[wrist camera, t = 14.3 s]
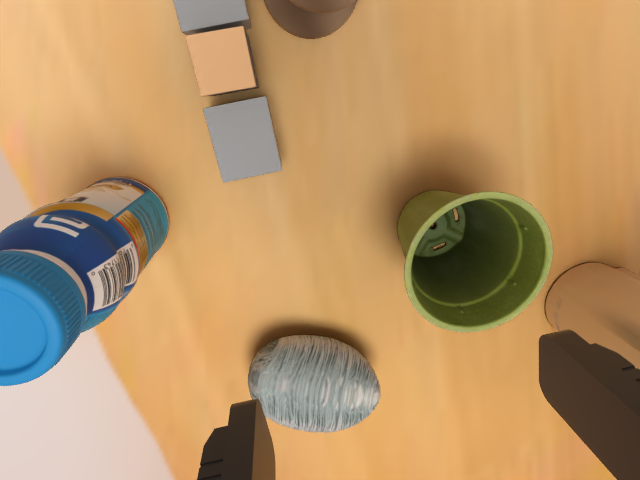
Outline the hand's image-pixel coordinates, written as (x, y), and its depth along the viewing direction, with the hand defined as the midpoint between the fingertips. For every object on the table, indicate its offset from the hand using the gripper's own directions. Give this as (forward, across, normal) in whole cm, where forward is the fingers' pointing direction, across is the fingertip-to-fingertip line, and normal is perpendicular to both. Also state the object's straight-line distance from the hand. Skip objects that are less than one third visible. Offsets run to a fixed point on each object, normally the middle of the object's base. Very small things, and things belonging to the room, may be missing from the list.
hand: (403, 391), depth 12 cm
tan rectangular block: (+30, +5, -11) cm, 32 cm away
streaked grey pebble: (+30, +4, +20) cm, 37 cm away
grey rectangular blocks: (+30, +5, -11) cm, 32 cm away
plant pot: (+30, -11, +7) cm, 33 cm away
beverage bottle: (+30, +18, 0) cm, 35 cm away
